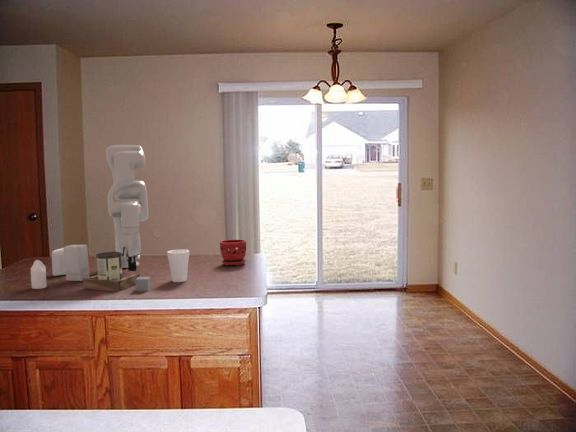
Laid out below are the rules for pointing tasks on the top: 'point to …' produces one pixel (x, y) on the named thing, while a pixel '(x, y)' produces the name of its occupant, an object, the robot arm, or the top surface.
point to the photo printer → (58, 262)
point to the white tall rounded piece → (38, 275)
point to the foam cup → (178, 264)
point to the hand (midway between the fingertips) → (132, 270)
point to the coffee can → (109, 266)
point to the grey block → (143, 284)
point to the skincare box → (76, 262)
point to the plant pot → (236, 255)
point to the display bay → (109, 283)
